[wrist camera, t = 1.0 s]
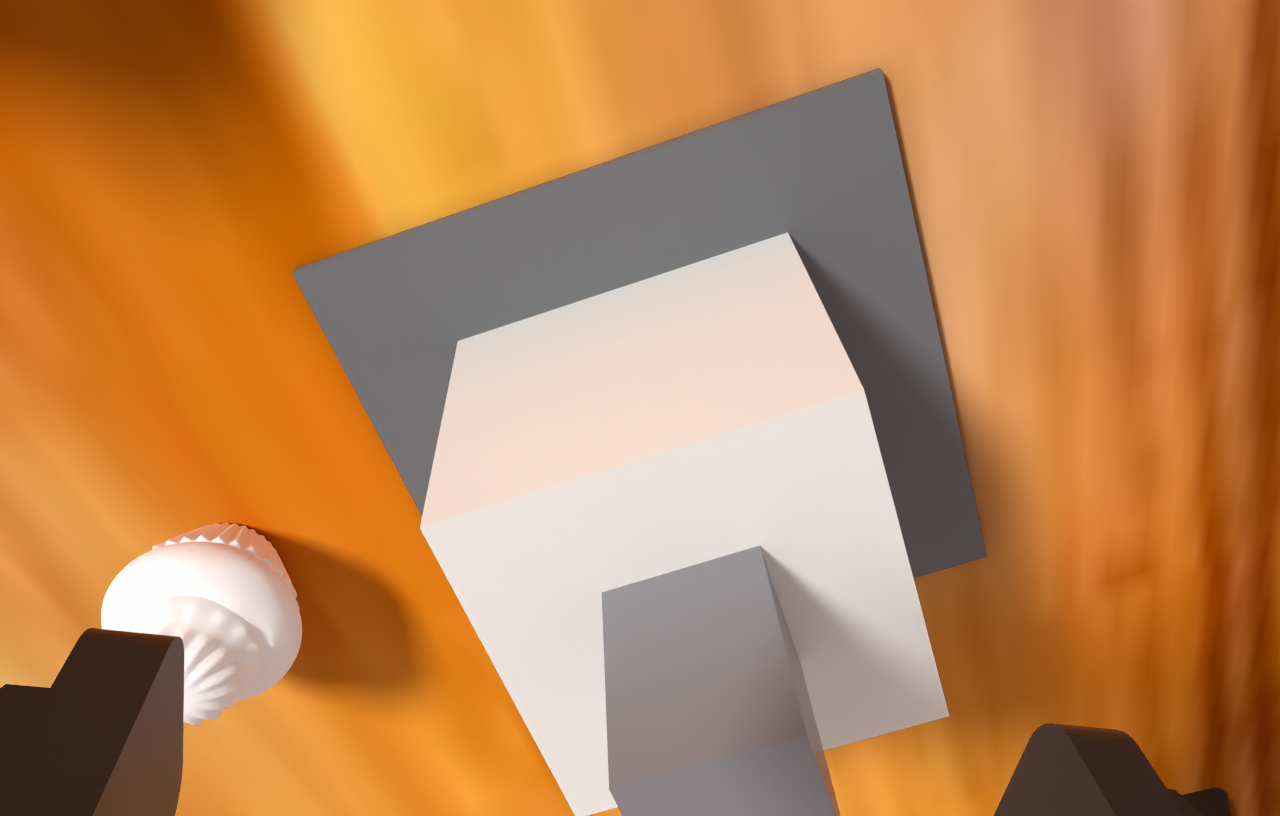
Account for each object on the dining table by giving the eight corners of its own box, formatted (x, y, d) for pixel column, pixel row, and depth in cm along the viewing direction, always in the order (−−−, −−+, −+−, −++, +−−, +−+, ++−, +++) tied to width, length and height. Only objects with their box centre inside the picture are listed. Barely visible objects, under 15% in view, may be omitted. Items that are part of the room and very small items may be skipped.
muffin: (255, 654, 40) (199, 809, 34) (104, 565, 38) (15, 714, 32) (359, 552, 38) (319, 698, 32) (206, 452, 36) (132, 589, 30)
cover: (787, 232, 33) (944, 555, 19) (864, 506, 38) (1031, 917, 24) (457, 341, 34) (381, 720, 20) (575, 592, 39) (578, 1031, 25)
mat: (879, 68, 31) (882, 71, 30) (983, 550, 40) (986, 556, 39) (295, 268, 33) (292, 273, 32) (517, 685, 42) (516, 692, 41)
